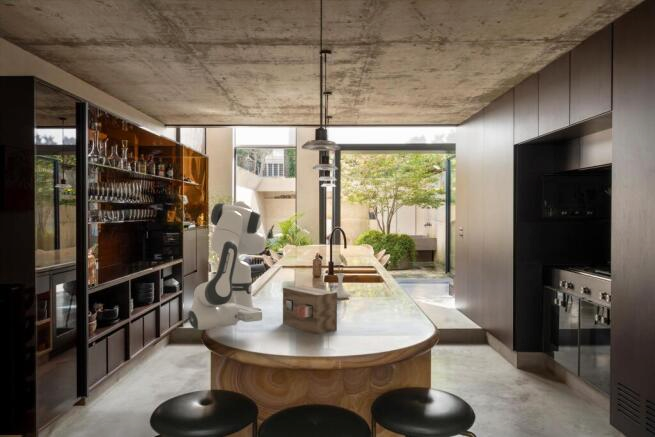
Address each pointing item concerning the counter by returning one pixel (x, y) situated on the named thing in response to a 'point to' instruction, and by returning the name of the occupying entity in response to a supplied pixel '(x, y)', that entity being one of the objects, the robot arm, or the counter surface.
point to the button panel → (322, 309)
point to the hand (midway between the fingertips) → (259, 310)
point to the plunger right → (305, 311)
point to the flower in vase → (340, 290)
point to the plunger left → (289, 305)
